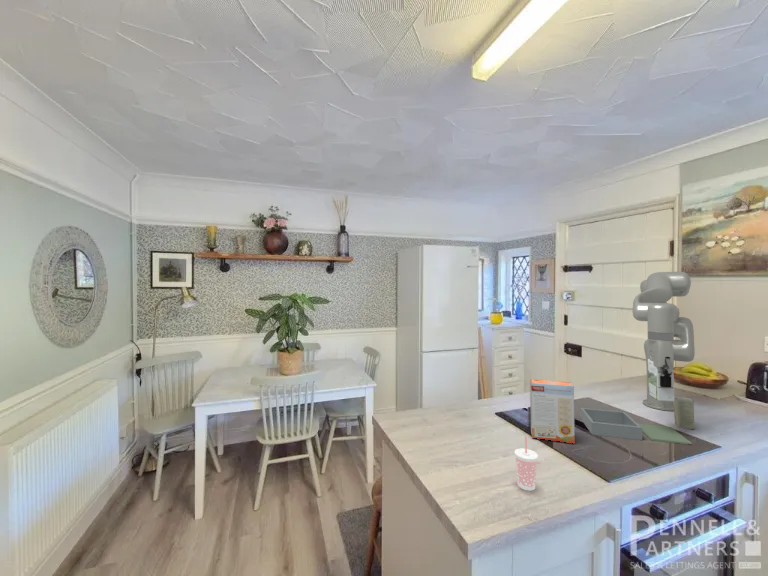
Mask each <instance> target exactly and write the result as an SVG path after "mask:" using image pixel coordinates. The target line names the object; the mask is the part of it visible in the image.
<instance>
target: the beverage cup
mask: <svg viewBox="0 0 768 576" xmlns="http://www.w3.org/2000/svg"><path fill="white" fill-rule="evenodd" d="M524 444H525V445H524V447H523V448H522V447H521V448H516V449H515V450H514V457H515V465H516V469H515V470H516V483H517V486H518V487H519V488H521V489H522V490H523V491H524V490H525V491H534V490H535V489H536V481H537V480H536V479H537V463H538V461H539V454H538V453H537V452H536V451H534V450H531V449H530V448H528V435H524Z"/></svg>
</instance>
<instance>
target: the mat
mask: <svg viewBox="0 0 768 576" xmlns="http://www.w3.org/2000/svg"><path fill="white" fill-rule="evenodd" d="M638 424H639V425H640V426H641V427H642V434H644V435H645V437H647V438H648V439H649V440H650V441H656V442H664V443H671V444H679V443H680V445H688V444H692V445H693V443H692V441H691V440H688V439H687V438H686V437H685V436H684V435H682V434H681V433H679V432H678V431H677V430H675V429H674V428H673V427H671V426H666V425H665V426H664V425H655V424H654V425H652V424H644V423H638Z"/></svg>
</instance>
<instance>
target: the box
mask: <svg viewBox="0 0 768 576" xmlns="http://www.w3.org/2000/svg"><path fill="white" fill-rule="evenodd" d="M673 412H674V413H673V414H674V416H673V417H674V419H673V420H674V425H676V426H677V427H678V429H679V428H680V429H688V430H689V429H690V430H695V429H696V425H695V423H696V422H695V402H694V400H693V399H691V398H689V397H679V396H674V411H673Z"/></svg>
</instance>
